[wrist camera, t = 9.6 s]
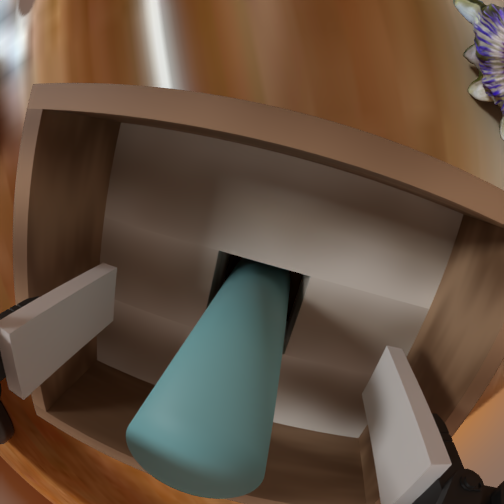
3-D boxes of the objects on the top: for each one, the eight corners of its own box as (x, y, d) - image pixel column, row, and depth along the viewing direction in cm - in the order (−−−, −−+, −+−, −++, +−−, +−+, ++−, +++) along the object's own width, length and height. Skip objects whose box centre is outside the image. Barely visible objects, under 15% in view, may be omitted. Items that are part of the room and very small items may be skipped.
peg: (281, 312, 20) (246, 509, 7) (227, 297, 21) (127, 470, 7) (297, 260, 19) (284, 441, 6) (240, 244, 20) (125, 389, 6)
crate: (358, 412, 21) (373, 518, 12) (112, 339, 23) (36, 414, 13) (451, 194, 17) (557, 222, 7) (143, 112, 18) (33, 84, 9)
